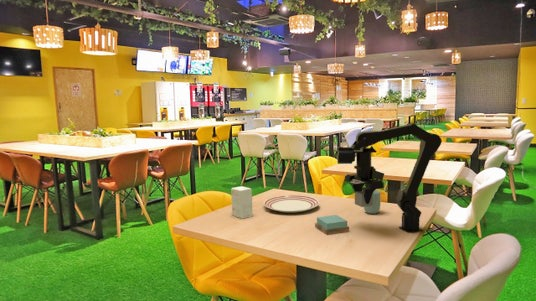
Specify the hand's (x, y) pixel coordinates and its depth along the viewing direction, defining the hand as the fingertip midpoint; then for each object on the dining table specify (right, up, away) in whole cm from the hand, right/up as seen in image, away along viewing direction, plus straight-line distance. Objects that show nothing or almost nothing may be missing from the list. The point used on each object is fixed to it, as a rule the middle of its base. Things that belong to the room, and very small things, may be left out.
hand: (363, 202), depth 152 cm
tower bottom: (-12, -12, +2) cm, 17 cm away
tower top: (-12, -10, +2) cm, 16 cm away
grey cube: (0, -1, 0) cm, 1 cm away
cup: (+10, -8, +23) cm, 27 cm away
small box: (-50, -10, +25) cm, 57 cm away
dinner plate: (-27, -8, +36) cm, 46 cm away
